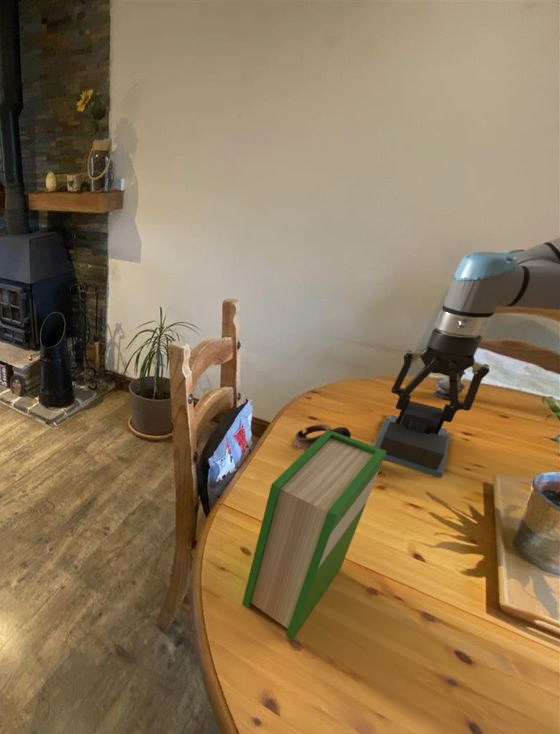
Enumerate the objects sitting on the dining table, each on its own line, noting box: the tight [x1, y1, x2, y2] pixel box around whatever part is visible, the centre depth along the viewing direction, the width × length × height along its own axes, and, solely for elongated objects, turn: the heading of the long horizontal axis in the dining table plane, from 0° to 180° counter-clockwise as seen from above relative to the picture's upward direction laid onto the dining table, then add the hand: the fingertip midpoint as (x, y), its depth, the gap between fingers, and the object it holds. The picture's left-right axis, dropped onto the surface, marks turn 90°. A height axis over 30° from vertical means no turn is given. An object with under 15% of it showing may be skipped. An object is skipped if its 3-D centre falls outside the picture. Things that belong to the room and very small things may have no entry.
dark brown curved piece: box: [294, 423, 352, 452], centre depth 93 cm, size 12×10×8 cm
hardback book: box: [241, 430, 387, 641], centre depth 61 cm, size 18×7×24 cm, turn 129°
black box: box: [400, 400, 444, 434], centre depth 94 cm, size 6×8×4 cm
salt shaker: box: [432, 369, 466, 401], centre depth 110 cm, size 6×6×12 cm
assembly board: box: [373, 414, 451, 479], centre depth 94 cm, size 12×18×5 cm, turn 136°
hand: (417, 426), depth 95 cm, fingers closed on black box, 6 cm apart
